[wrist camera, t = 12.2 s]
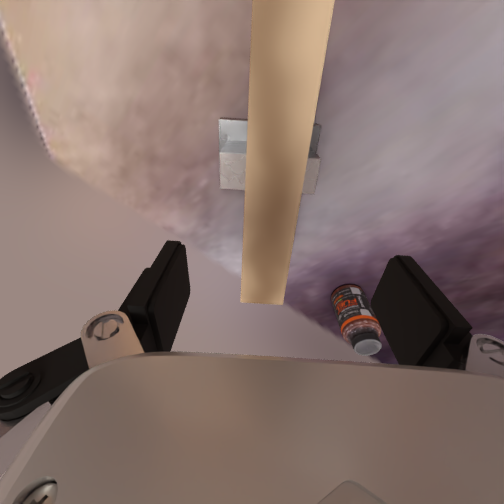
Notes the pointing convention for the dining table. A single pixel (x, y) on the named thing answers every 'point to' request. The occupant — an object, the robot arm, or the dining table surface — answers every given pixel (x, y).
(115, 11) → the dining table surface
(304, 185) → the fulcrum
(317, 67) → the oak bar
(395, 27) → the dining table surface
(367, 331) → the supplement bottle
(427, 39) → the dining table surface
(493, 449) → the robot arm
